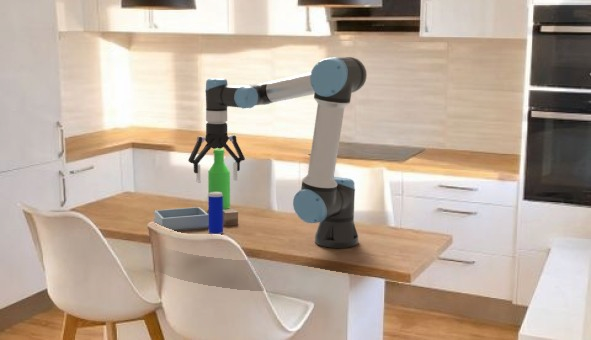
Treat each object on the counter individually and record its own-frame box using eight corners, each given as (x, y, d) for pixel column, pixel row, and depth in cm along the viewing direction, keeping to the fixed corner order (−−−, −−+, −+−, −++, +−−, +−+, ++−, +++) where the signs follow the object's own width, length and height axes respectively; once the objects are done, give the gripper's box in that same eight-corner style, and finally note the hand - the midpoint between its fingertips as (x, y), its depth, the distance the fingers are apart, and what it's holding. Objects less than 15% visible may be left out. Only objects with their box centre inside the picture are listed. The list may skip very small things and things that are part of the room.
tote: (209, 227, 278) (209, 214, 277) (162, 232, 272) (162, 218, 271) (199, 219, 291) (199, 206, 290) (154, 223, 284) (154, 210, 283)
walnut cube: (238, 224, 284) (238, 211, 283) (225, 225, 282) (225, 212, 281) (234, 221, 288) (234, 208, 288) (221, 222, 287) (221, 209, 286)
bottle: (211, 212, 303) (211, 151, 298) (206, 207, 311) (205, 148, 306) (232, 210, 306) (232, 150, 301) (226, 205, 314) (226, 147, 309)
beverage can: (225, 232, 272) (225, 192, 269) (218, 235, 268) (218, 194, 265) (213, 230, 274) (213, 190, 272) (206, 234, 270) (205, 193, 267)
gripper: (247, 120, 273) (246, 177, 277) (179, 122, 264) (180, 181, 268) (253, 122, 266) (253, 180, 270) (184, 124, 257) (185, 185, 261)
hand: (216, 181), depth 269 cm, fingers open, 13 cm apart
